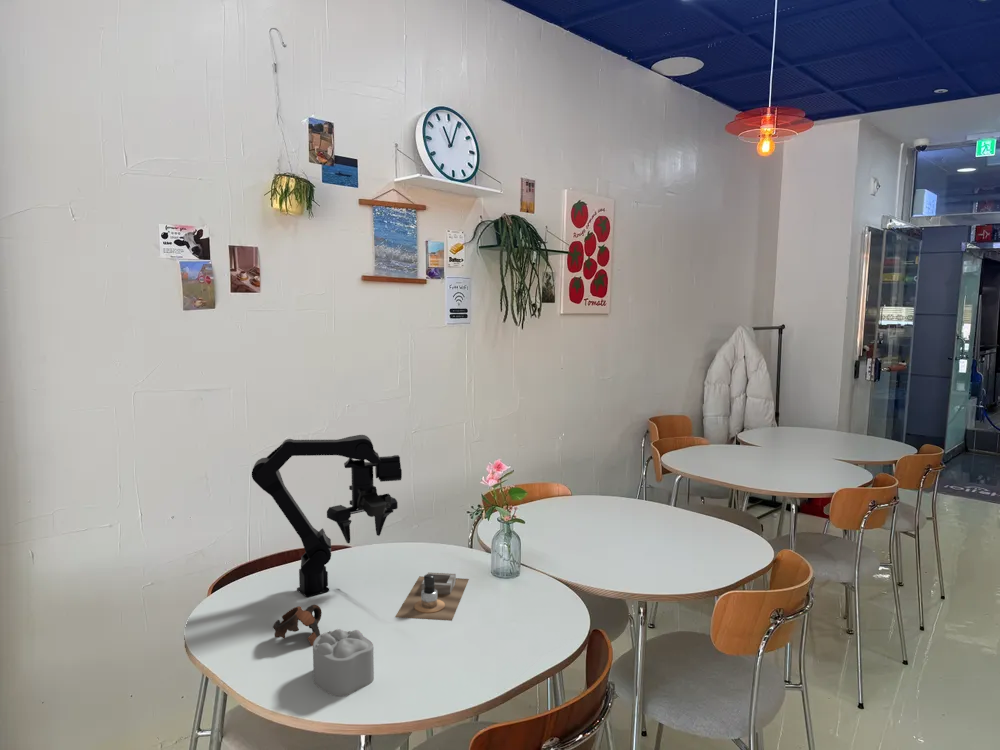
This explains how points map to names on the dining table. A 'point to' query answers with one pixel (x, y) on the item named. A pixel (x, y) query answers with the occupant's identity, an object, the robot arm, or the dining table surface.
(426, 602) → the nail polish bottle
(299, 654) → the dining table surface
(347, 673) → the grey paw block
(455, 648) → the dining table surface
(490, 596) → the dining table surface
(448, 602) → the brown wooden board
